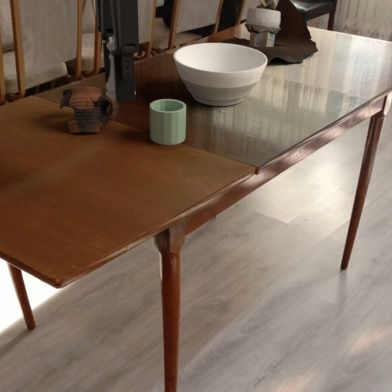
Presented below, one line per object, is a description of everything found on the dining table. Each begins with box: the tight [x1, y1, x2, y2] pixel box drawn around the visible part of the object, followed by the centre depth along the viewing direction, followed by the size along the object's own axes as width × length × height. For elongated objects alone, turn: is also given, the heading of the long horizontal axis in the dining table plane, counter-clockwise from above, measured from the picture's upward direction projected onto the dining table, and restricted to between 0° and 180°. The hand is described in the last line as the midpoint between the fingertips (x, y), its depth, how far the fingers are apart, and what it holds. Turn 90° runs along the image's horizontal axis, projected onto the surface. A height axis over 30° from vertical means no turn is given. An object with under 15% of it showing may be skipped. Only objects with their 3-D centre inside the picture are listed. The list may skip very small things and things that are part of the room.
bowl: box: [173, 42, 267, 107], centre depth 132 cm, size 20×20×8 cm
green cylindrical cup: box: [149, 98, 187, 146], centre depth 116 cm, size 7×7×6 cm
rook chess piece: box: [105, 36, 137, 101], centre depth 90 cm, size 4×4×8 cm
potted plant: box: [221, 0, 319, 67], centre depth 155 cm, size 20×19×25 cm
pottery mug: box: [59, 86, 120, 134], centre depth 119 cm, size 12×10×8 cm
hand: (120, 94), depth 92 cm, fingers closed on rook chess piece, 4 cm apart
